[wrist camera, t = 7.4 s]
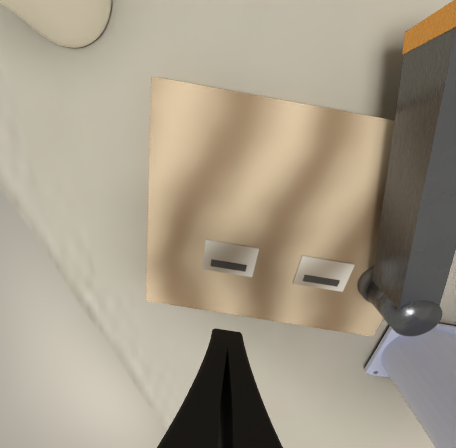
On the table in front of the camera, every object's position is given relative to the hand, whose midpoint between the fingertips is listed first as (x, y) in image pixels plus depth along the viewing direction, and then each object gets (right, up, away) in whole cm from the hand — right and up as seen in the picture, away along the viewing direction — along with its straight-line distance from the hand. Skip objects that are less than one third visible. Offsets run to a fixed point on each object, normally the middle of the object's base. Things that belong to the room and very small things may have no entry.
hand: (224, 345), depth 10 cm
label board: (+5, +6, +8) cm, 11 cm away
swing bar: (+12, +8, +4) cm, 15 cm away
